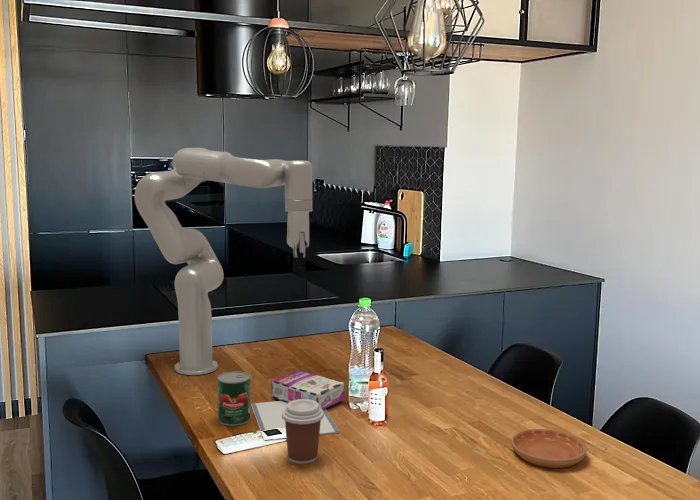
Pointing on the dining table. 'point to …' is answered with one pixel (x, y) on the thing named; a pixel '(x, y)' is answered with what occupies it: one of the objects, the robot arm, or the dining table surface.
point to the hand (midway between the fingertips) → (299, 271)
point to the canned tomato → (234, 398)
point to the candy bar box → (308, 388)
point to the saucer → (548, 448)
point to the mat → (271, 418)
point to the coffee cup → (302, 430)
